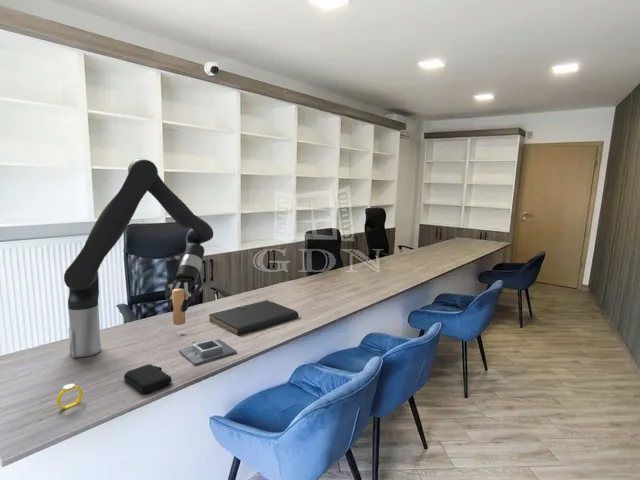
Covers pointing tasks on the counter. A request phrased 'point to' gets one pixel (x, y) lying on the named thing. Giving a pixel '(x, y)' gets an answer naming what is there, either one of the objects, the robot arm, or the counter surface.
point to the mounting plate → (207, 351)
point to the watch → (68, 388)
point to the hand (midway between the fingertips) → (176, 310)
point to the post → (178, 306)
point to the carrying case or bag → (147, 378)
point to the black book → (252, 317)
